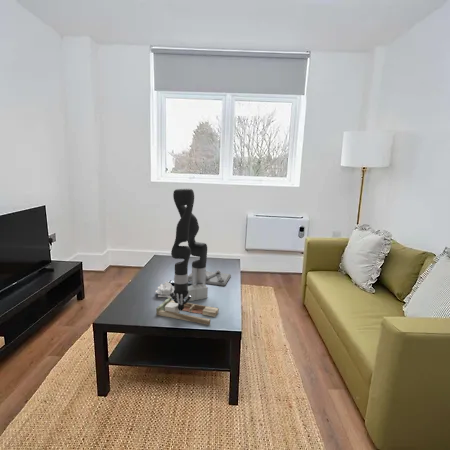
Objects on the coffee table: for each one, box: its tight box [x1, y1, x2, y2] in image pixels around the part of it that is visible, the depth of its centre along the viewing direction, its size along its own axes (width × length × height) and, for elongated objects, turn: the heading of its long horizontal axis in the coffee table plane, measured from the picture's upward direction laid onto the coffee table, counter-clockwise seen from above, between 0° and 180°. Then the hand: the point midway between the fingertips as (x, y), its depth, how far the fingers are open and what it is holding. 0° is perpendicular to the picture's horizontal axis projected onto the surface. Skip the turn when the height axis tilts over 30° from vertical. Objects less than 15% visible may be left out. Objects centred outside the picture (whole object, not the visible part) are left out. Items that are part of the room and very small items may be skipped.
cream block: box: [164, 302, 180, 314], centre depth 179 cm, size 6×6×5 cm
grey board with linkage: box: [188, 269, 232, 287], centre depth 233 cm, size 30×22×7 cm
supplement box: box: [185, 284, 209, 302], centre depth 200 cm, size 7×7×13 cm
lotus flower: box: [155, 281, 174, 298], centre depth 202 cm, size 14×15×9 cm
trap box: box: [155, 297, 220, 326], centre depth 179 cm, size 16×32×4 cm, turn 73°
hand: (180, 310), depth 178 cm, fingers closed
